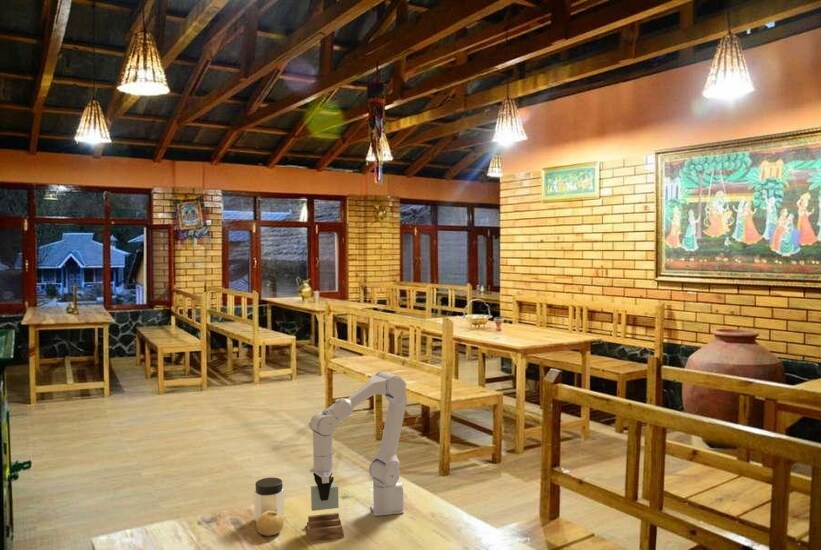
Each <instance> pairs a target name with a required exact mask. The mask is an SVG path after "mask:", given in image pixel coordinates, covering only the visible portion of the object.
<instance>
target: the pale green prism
mask: <svg viewBox="0 0 821 550" xmlns="http://www.w3.org/2000/svg"><path fill="white" fill-rule="evenodd" d="M338 485H339V484H337V483H334V484H333V483H332V484H331V487H330V492H329V497H328V500H325V501H321V499H320V495H319V489H318V486H317V485H314V486H310V509H311V512H313V511H315V512H316V511H323V510H332V509H339V486H338Z"/></svg>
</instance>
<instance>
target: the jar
mask: <svg viewBox="0 0 821 550" xmlns="http://www.w3.org/2000/svg"><path fill="white" fill-rule="evenodd" d="M253 495H254V497H253V498H254V500H253V501H254V502H253V503H254V521H255V522H257V519H258V518H259V516H260V515H261V514H262V513H264V512H266V511H268V510H271V511H275V510H277V511H276V512H278V513H279V514H280V515H281V516H282V518H283V520H284V519H285V489H284V488H283V480H282V479H281V478H279V477H265V478H261V479H257V481H255V490H254V491H253Z"/></svg>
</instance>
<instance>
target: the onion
mask: <svg viewBox="0 0 821 550" xmlns="http://www.w3.org/2000/svg"><path fill="white" fill-rule="evenodd" d="M276 511H277V510H275V511H271V510H268V511H266V512H264V513H262V514H261V515H260V516H259V518H258V519H257V522H256V521H255V522H256V523H255V528H256V530H257V532H258V533H259V534H260V535H262V536H264V537H271V536H275V535H277V534H279V533H280V532H281V531H282V530H283V529H284V524H285V523H284V519H283V518H282V516H281V515H280V514H279V513H278V512H276Z"/></svg>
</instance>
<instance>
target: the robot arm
mask: <svg viewBox="0 0 821 550" xmlns="http://www.w3.org/2000/svg"><path fill="white" fill-rule="evenodd" d="M406 388H407V383H406V381H405V380H404V379H403V378H402V376H400V375H397V374H392V373H389V372H387V371H385V370H380V371H378V372H376V373H375V374H374V375H372V376H370V378H369V379H368V381H367V382H366V383H364V384H363V385H362V386H361V387H359V388H358V389H356V391H355V392H354V393H352V394H351V395H349V397H348V398H344V397H341V398H337V399H336V400H335V401H334V403H333V404H331V405H330V406H328V407H327V408H324V409H323V410H322V412H317V413H315V414H314V415H313V416H312V417H311V419H310V421H309V422H308V426H309V428H310V430H312V446H313V447H312V448H313V449H312V450H313V452H312V453H313V454H312V455H313V457H312V458H313V461H312V462H313V467H310V468H309V472H310V473H312V474H313V477H314V479H313V480H314V481H315V484H316V486H318V489H319V495H320V499H321V501H325V500H328V497H329V492H330V487H331V484H333V483H334V479H335V478H334V476H332V475H333V472H334V470H335V469H334V464H333V463H334V461H333V460H334V459H333V455H334V453H333V434H334V432H335V430H336V428H337V426H338V425H339V424H340V423H341V422H343V421H344V420H346V419H347V418H349V416H351V415H352V414H353V412H354V408H356V407H357V406H359V405H360V404H361V403H363V402H365V401H366V400H368V399H369V398H371V397H372V396H374V395H383V396H384V397H385V398H386V399H387V401H388V408H387V412H386V417H385V422H384V427H383V432H382V437H381V440H380V441H381V442H380V446H379V450H378V451H377V452H376V453H375V454H374V456H373V458H372V461H371V463H370V464H369V468H368V473H369V475H370V477H371V478H372V489H373V490H372V491H373V492H372V494H373V495H372V496H373V497H372V498H373V500H372V502H373V504H370V509H371V510H372V513H373V515H374V517H378V516H388V515H389V516H390V515H396V514H397V515H398V514H404V513H405V511H404V486H403V483H402V481H400V480H399V479H400V477H401V471H400V465H401V463H400V460H399V458H398V455H397V452H398V446H399V442H400V438H401V433H402V432H401V431H402V428H403V422H404V417H405V412H406V407H407V402H408V398H407V392H406Z"/></svg>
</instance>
